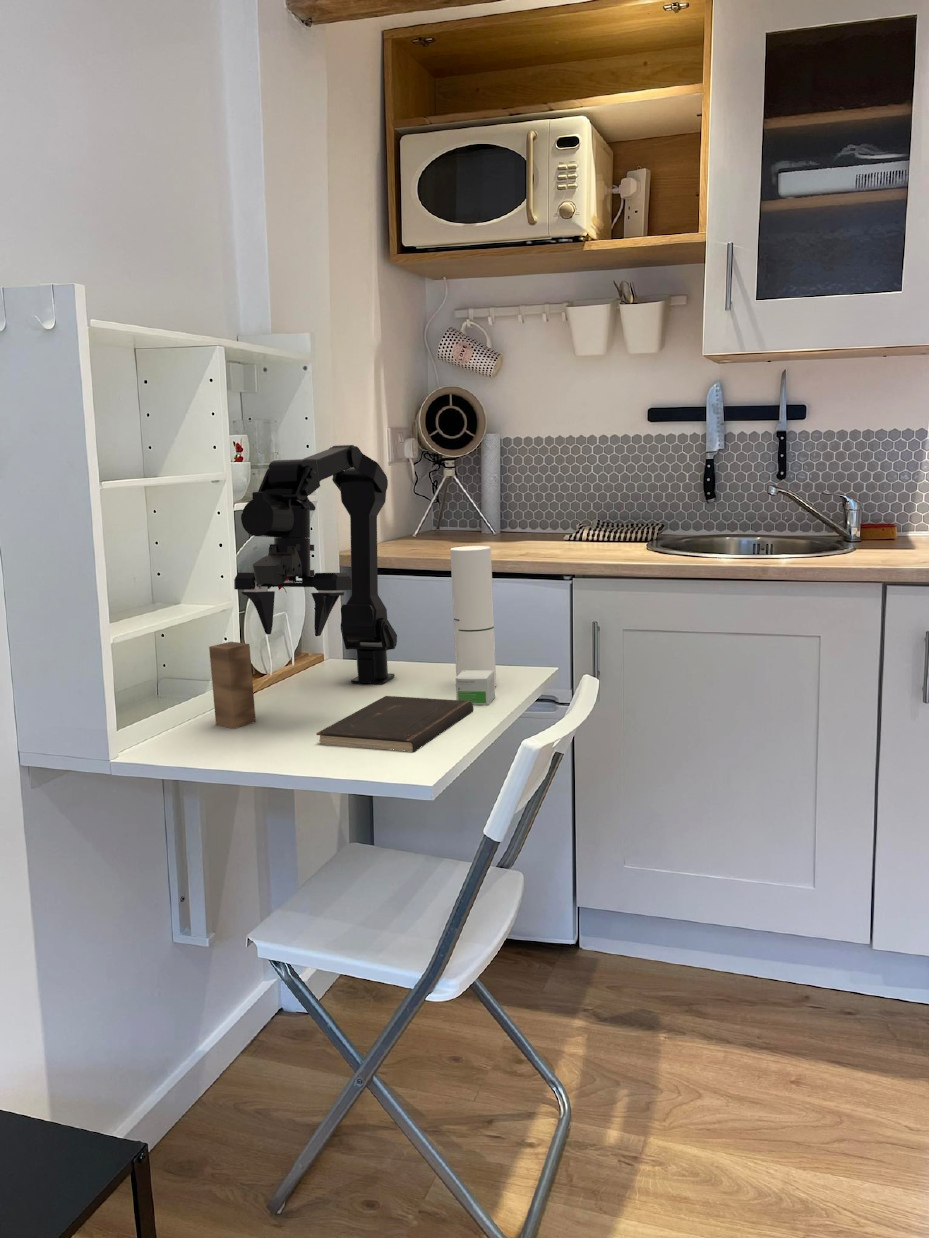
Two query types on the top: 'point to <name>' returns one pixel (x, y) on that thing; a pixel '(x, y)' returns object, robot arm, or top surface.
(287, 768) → the top surface
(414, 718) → the hardcover book
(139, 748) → the top surface
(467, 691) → the small box
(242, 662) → the walnut block
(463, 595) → the cylindrical container
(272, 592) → the robot arm
